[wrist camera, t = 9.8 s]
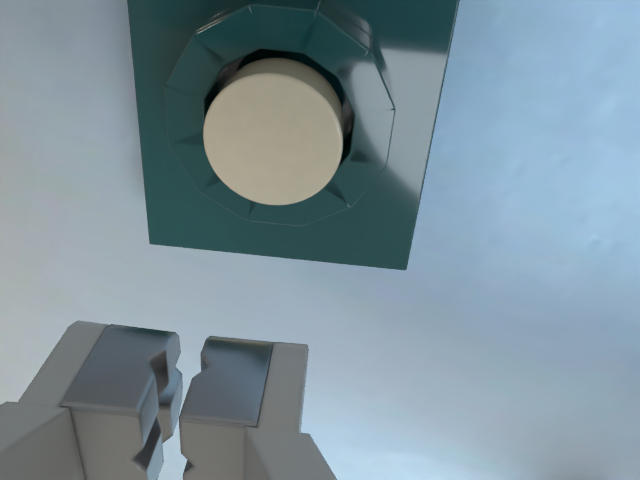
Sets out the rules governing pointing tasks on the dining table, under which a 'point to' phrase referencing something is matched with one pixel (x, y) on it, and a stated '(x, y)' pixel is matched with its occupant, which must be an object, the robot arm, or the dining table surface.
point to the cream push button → (275, 132)
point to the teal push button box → (355, 97)
